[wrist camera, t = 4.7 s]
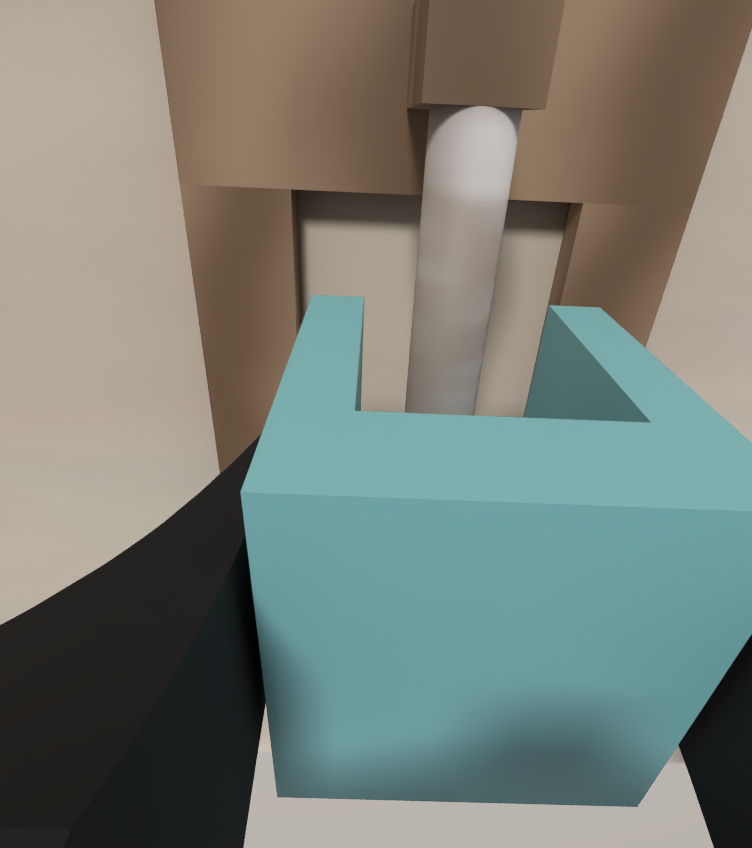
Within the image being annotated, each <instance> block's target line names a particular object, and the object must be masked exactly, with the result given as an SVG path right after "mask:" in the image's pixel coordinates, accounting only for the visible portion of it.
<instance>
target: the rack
mask: <svg viewBox="0 0 752 848" xmlns="http://www.w3.org/2000/svg"><path fill="white" fill-rule="evenodd" d="M154 2H155V9H156V16H157V23H158V31H159V38H160V45H161V52H162V59H163V67H164V74H165V81H166V88H167V95H168V102H169V110H170V117H171V124H172V131H173V138H174V145H175V153H176V160H177V167H178V174H179V181H180V188H181V196H182V203H183V210H184V217H185V224H186V232H187V239H188V246H189V253H190V260H191V267H192V275H193V282H194V289H195V296H196V303H197V310H198V318H199V325H200V332H201V339H202V346H203V353H204V361H205V368H206V375H207V382H208V389H209V397H210V404H211V411H212V418H213V425H214V432H215V440H216V447H217V454H218V461H219V468H220V473H221V472H223V471H224V470H225V469H226V468H227V467H228V466H229V465H230V464H231V463H232V462H233V461H234V460H235V459H236V458H237V457H238V456H239V455H240V454H241V453H242V452H243V451H244V450H245V449H246V448H247V447H248V446H249V445H250V444H251V443H252V442H253V441H254V440H255V439H256V438H257V437H258V436H259V435H260V434H261V433H262V432H263V429H264V426H265V423H266V421H267V418H268V415H269V412H270V410H271V407H272V404H273V401H274V399H275V396H276V393H277V391H278V388H279V385H280V382H281V380H282V377H283V374H284V371H285V369H286V366H287V363H288V360H289V358H290V355H291V352H292V349H293V347H294V344H295V341H296V338H297V336H298V333H299V330H300V327H301V314H300V285H299V255H298V226H297V196H296V190H315V191H336V192H358V193H379V194H400V195H421V196H422V208H421V220H420V232H419V245H418V257H417V269H416V281H415V294H414V306H413V318H412V330H411V343H410V355H409V367H408V379H407V392H406V404H405V413H421V414H446V415H471V416H473V415H474V409H475V403H476V397H477V390H478V384H479V378H480V372H481V366H482V359H483V353H484V347H485V341H486V335H487V328H488V322H489V316H490V310H491V303H492V297H493V291H494V285H495V279H496V272H497V266H498V260H499V254H500V248H501V241H502V235H503V229H504V223H505V217H506V210H507V204H508V200H527V201H549V202H570V203H571V204H570V208H569V213H568V218H567V222H566V227H565V231H564V236H563V240H562V245H561V250H560V254H559V259H558V263H557V268H556V272H555V277H554V281H553V286H552V291H551V295H550V300H549V304H548V308H549V305H555V306H578V307H600V308H601V309H602V310H603V311H605V312H606V313H607V314H608V315H609V316H610V317H611V318H612V319H614V320H615V321H616V322H617V323H618V324H619V325H620V326H621V327H622V328H624V329H625V330H626V331H627V332H628V333H629V334H630V335H631V336H633V337H634V338H635V339H636V340H637V341H638V342H639V343H640V344H641V345H643V346H644V347H646V344H647V341H648V338H649V335H650V332H651V329H652V326H653V323H654V320H655V317H656V314H657V311H658V308H659V305H660V302H661V299H662V296H663V293H664V290H665V287H666V284H667V281H668V278H669V275H670V272H671V269H672V266H673V263H674V260H675V257H676V254H677V251H678V248H679V245H680V242H681V239H682V236H683V233H684V230H685V227H686V224H687V221H688V218H689V215H690V212H691V209H692V206H693V203H694V200H695V197H696V194H697V191H698V188H699V185H700V182H701V179H702V176H703V173H704V170H705V167H706V164H707V161H708V158H709V155H710V152H711V149H712V146H713V143H714V140H715V137H716V134H717V131H718V128H719V125H720V122H721V119H722V116H723V113H724V110H725V107H726V104H727V101H728V98H729V95H730V92H731V89H732V86H733V83H734V80H735V77H736V74H737V71H738V68H739V65H740V62H741V59H742V56H743V53H744V50H745V47H746V44H747V41H748V38H749V35H750V32H751V29H752V0H154ZM547 312H548V309H547ZM546 317H547V313H546ZM545 321H546V318H545ZM544 326H545V323H544ZM543 330H544V327H543ZM542 335H543V332H542ZM541 339H542V336H541ZM540 344H541V341H540ZM539 348H540V345H539ZM538 353H539V350H538ZM537 357H538V354H537ZM536 361H537V359H536ZM535 366H536V364H535ZM534 370H535V368H534ZM533 375H534V373H533ZM532 379H533V377H532ZM531 384H532V382H531ZM530 388H531V386H530ZM529 393H530V391H529ZM528 397H529V396H528ZM527 402H528V400H527ZM526 406H527V405H526ZM525 410H526V409H525ZM524 415H525V414H524Z"/></svg>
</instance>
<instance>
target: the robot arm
mask: <svg viewBox="0 0 752 848" xmlns="http://www.w3.org/2000/svg"><path fill="white" fill-rule="evenodd" d="M261 434H262V433H261ZM261 434H260V435H259V436H258V437H257V438H256V439H255V440H254V441H253V442H252V443H251V444H250V445H249V446H248V447H247V448H246V449H245V450H244V451H243V452H242V453H241V454H240V455H239V456H238V457H237V458H236V459H235V460H234V461H233V462H232V463H231V464H230V465H229V466H228V467H227V468H226V469H225V470H224V471H223V472H221V473H220V474H219V475H218V476H217V477H216V478H215V479H214V480H213V481H212V482H211V483H210V484H209V485H207V486H206V487H205V488H204V489H203V490H202V491H201V492H200V493H199V494H197V495H196V496H195V497H194V498H193V499H191V500H190V501H189V502H188V503H187V504H185V505H184V506H183V507H182V508H181V509H179V510H178V511H177V512H176V513H175V514H173V515H172V516H171V517H170V518H169V519H167V520H166V521H165V522H164V523H162V524H161V525H160V526H159V527H157V528H156V529H155V530H153V531H152V532H150V533H149V534H148V535H146V536H145V537H144V538H142V539H141V540H139V541H138V542H137V543H135V544H134V545H132V546H131V547H129V548H128V549H126V550H125V551H123V552H122V553H121V554H119V555H118V556H116V557H115V558H113V559H112V560H110V561H109V562H107V563H106V564H104V565H103V566H101V567H100V568H98V569H96V570H95V571H93V572H91V573H90V574H88V575H86V576H85V577H83V578H81V579H80V580H78V581H76V582H75V583H73V584H71V585H70V586H68V587H66V588H65V589H63V590H61V591H60V592H58V593H56V594H55V595H53V596H51V597H50V598H48V599H46V600H45V601H43V602H41V603H40V604H38V605H36V606H35V607H33V608H31V609H29V610H27V611H26V612H24V613H22V614H20V615H18V616H16V617H15V618H13V619H11V620H9V621H7V622H5V623H3V624H1V625H0V848H243V846H244V839H245V831H246V825H247V819H248V812H249V805H250V798H251V792H252V786H253V779H254V772H255V766H256V759H257V753H258V747H259V740H260V734H261V728H262V722H263V715H264V709H265V703H266V699H265V691H264V682H263V674H262V666H261V658H260V649H259V641H258V633H257V625H256V616H255V608H254V600H253V592H252V583H251V575H250V567H249V559H248V550H247V542H246V534H245V526H244V517H243V509H242V501H241V493H240V492H241V489H242V487H243V484H244V481H245V478H246V476H247V473H248V470H249V467H250V465H251V462H252V459H253V456H254V454H255V451H256V448H257V445H258V443H259V440H260V437H261ZM678 745H679V748H680V750H681V753H682V756H683V759H684V761H685V764H686V767H687V769H688V772H689V775H690V778H691V781H692V784H693V786H694V790H695V793H696V795H697V799H698V801H699V804H700V807H701V810H702V813H703V816H704V819H705V822H706V825H707V828H708V831H709V834H710V837H711V840H712V843H713V846H714V848H752V634H751V636H750V637H749V639H748V640H747V642H746V643H745V645H744V646H743V648H742V649H741V651H740V652H739V654H738V655H737V657H736V658H735V660H734V661H733V663H732V664H731V666H730V667H729V669H728V670H727V672H726V674H725V675H724V677H723V678H722V680H721V681H720V683H719V684H718V686H717V687H716V689H715V690H714V692H713V693H712V695H711V696H710V698H709V699H708V701H707V702H706V704H705V705H704V707H703V708H702V710H701V711H700V713H699V714H698V716H697V717H696V719H695V720H694V722H693V723H692V725H691V726H690V728H689V729H688V731H687V732H686V734H685V735H684V737H683V738H682V740H681V741H680V743H679V744H678Z"/></svg>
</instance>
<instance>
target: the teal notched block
mask: <svg viewBox="0 0 752 848" xmlns="http://www.w3.org/2000/svg"><path fill="white" fill-rule="evenodd" d="M363 317H364V297H349V296H326V295H312V297H311V300H310V303H309V305H308V308H307V311H306V314H305V316H304V319H303V322H302V325H301V327H300V330H299V333H298V336H297V338H296V341H295V344H294V347H293V349H292V352H291V355H290V358H289V360H288V363H287V366H286V369H285V371H284V374H283V377H282V380H281V382H280V385H279V388H278V391H277V393H276V396H275V399H274V401H273V404H272V407H271V410H270V412H269V415H268V418H267V421H266V423H265V426H264V429H263V432H262V434H261V437H260V440H259V443H258V445H257V448H256V451H255V454H254V456H253V459H252V462H251V465H250V467H249V470H248V473H247V476H246V478H245V481H244V484H243V487H242V489H241V492H240V493H241V501H242V509H243V517H244V526H245V534H246V542H247V550H248V559H249V567H250V575H251V583H252V592H253V600H254V608H255V616H256V625H257V633H258V641H259V649H260V658H261V666H262V674H263V682H264V691H265V699H266V707H267V715H268V724H269V732H270V740H271V748H272V756H273V764H274V773H275V781H276V789H277V797H293V798H330V799H367V800H368V799H369V800H405V801H408V800H409V801H441V802H478V803H516V804H517V803H518V804H554V805H555V804H556V805H590V806H627V807H630V806H631V807H637V806H638V804H639V803H640V802H641V800H642V799H643V797H644V796H645V794H646V792H647V791H648V790H649V788H650V787H651V785H652V784H653V782H654V781H655V779H656V778H657V776H658V775H659V773H660V772H661V770H662V769H663V767H664V765H665V764H666V763H667V761H668V760H669V758H670V757H671V755H672V753H673V752H674V750H675V749H676V747H677V746H678V744H679V743H680V741H681V740H682V738H683V737H684V735H685V734H686V732H687V731H688V729H689V728H690V726H691V725H692V723H693V722H694V720H695V719H696V717H697V716H698V714H699V713H700V711H701V710H702V708H703V707H704V705H705V704H706V702H707V701H708V699H709V698H710V696H711V695H712V693H713V692H714V690H715V689H716V687H717V686H718V684H719V683H720V681H721V680H722V678H723V677H724V675H725V674H726V672H727V670H728V669H729V667H730V666H731V664H732V663H733V661H734V660H735V658H736V657H737V655H738V654H739V652H740V651H741V649H742V648H743V646H744V645H745V643H746V642H747V640H748V639H749V637H750V636H751V634H752V443H751V442H750V441H749V440H748V439H747V438H745V437H744V436H743V435H742V434H741V433H740V432H739V431H738V430H737V429H735V428H734V427H733V426H732V425H731V424H730V423H729V422H728V421H726V420H725V419H724V418H723V417H722V416H721V415H720V414H719V413H718V412H716V411H715V410H714V409H713V408H712V407H711V406H710V405H709V404H707V403H706V402H705V401H704V400H703V399H702V398H701V397H700V396H699V395H697V394H696V393H695V392H694V391H693V390H692V389H691V388H690V387H688V386H687V385H686V384H685V383H684V382H683V381H682V380H681V379H680V378H678V377H677V376H676V375H675V374H674V373H673V372H672V371H671V370H669V369H668V368H667V367H666V366H665V365H664V364H663V363H662V362H660V361H659V360H658V359H657V358H656V357H655V356H654V355H653V354H652V353H650V352H649V351H648V350H647V349H646V348H645V347H644V346H643V345H641V344H640V343H639V342H638V341H637V340H636V339H635V338H634V337H633V336H631V335H630V334H629V333H628V332H627V331H626V330H625V329H624V328H622V327H621V326H620V325H619V324H618V323H617V322H616V321H615V320H614V319H612V318H611V317H610V316H609V315H608V314H607V313H606V312H605V311H603V310H602V309H601V308H600V307H578V306H555V305H549V308H548V312H547V317H546V321H545V326H544V330H543V335H542V339H541V344H540V348H539V353H538V357H537V361H536V366H535V370H534V375H533V379H532V384H531V388H530V393H529V397H528V402H527V406H526V410H525V415H524V418H522V417H497V416H471V415H446V414H421V413H396V412H371V411H361V381H362V349H363Z"/></svg>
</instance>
